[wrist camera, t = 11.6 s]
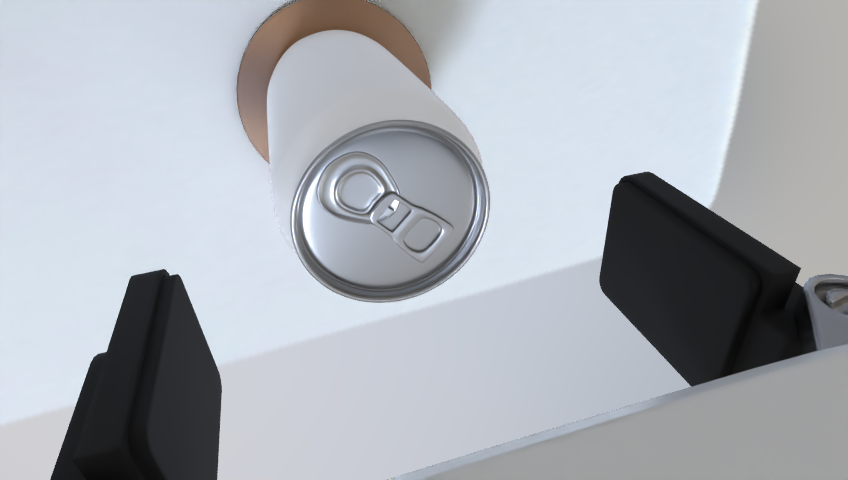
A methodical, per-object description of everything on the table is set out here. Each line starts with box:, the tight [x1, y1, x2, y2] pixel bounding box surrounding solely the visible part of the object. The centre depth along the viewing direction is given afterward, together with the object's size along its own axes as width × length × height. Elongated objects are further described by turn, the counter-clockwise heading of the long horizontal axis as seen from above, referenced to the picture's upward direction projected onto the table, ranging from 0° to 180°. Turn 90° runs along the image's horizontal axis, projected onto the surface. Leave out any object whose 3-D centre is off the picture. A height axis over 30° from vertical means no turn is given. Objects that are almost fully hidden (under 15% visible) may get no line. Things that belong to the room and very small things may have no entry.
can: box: [267, 30, 490, 303], centre depth 19 cm, size 6×6×12 cm
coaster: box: [237, 0, 431, 164], centre depth 24 cm, size 9×9×1 cm
